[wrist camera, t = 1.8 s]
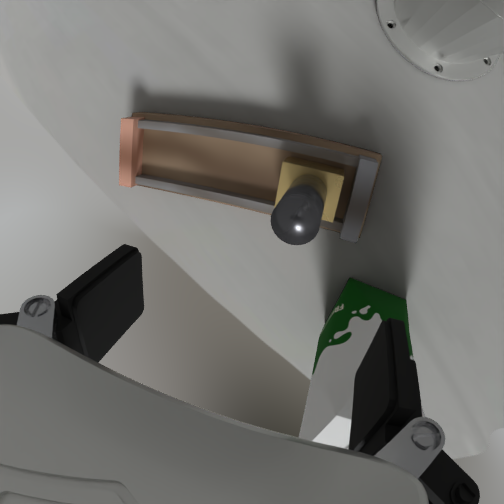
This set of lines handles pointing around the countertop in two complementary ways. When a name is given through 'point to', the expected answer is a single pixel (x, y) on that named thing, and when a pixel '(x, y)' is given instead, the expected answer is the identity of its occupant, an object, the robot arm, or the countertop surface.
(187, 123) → the rail base
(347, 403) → the milk carton
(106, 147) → the countertop surface
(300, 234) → the slider
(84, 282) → the robot arm
